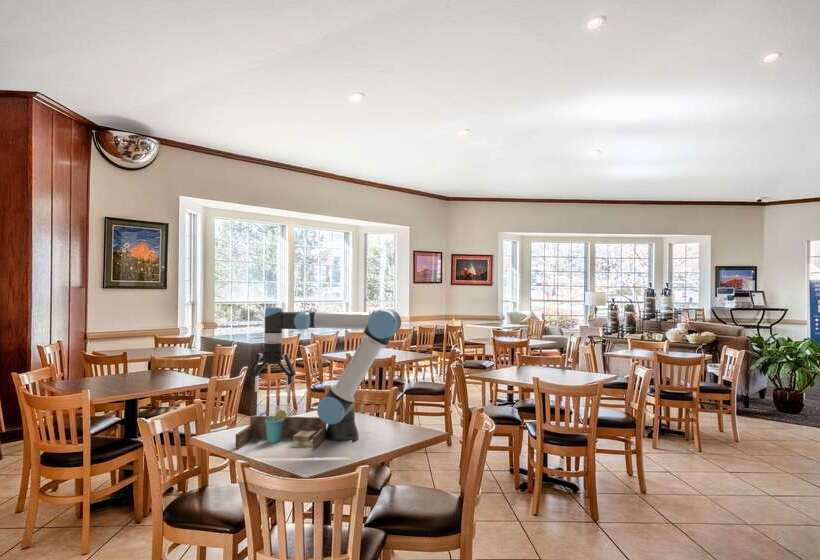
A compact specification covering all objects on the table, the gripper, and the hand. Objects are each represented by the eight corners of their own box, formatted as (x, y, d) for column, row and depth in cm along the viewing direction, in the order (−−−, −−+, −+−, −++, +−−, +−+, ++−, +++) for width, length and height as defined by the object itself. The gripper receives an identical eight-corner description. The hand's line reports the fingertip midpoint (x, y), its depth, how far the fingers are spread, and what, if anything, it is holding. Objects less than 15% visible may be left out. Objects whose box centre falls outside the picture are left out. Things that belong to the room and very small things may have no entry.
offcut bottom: (318, 443, 239) (318, 439, 239) (311, 452, 226) (311, 447, 227) (298, 443, 240) (298, 438, 240) (290, 451, 227) (290, 446, 227)
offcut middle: (315, 439, 239) (315, 434, 239) (312, 446, 228) (312, 441, 228) (297, 439, 239) (297, 434, 239) (293, 446, 228) (293, 441, 228)
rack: (326, 439, 242) (326, 417, 242) (316, 451, 225) (316, 426, 225) (251, 437, 245) (251, 415, 245) (235, 448, 228) (235, 424, 228)
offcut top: (316, 435, 238) (316, 430, 238) (309, 441, 228) (309, 436, 228) (301, 434, 239) (301, 430, 239) (293, 440, 229) (293, 436, 229)
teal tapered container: (266, 449, 226) (266, 413, 227) (253, 446, 231) (253, 411, 231) (290, 442, 238) (290, 407, 239) (277, 439, 242) (277, 405, 243)
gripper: (303, 342, 238) (302, 390, 238) (248, 341, 241) (247, 389, 240) (298, 344, 231) (297, 394, 230) (241, 342, 233) (240, 392, 232)
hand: (272, 391), depth 235 cm, fingers open, 13 cm apart
